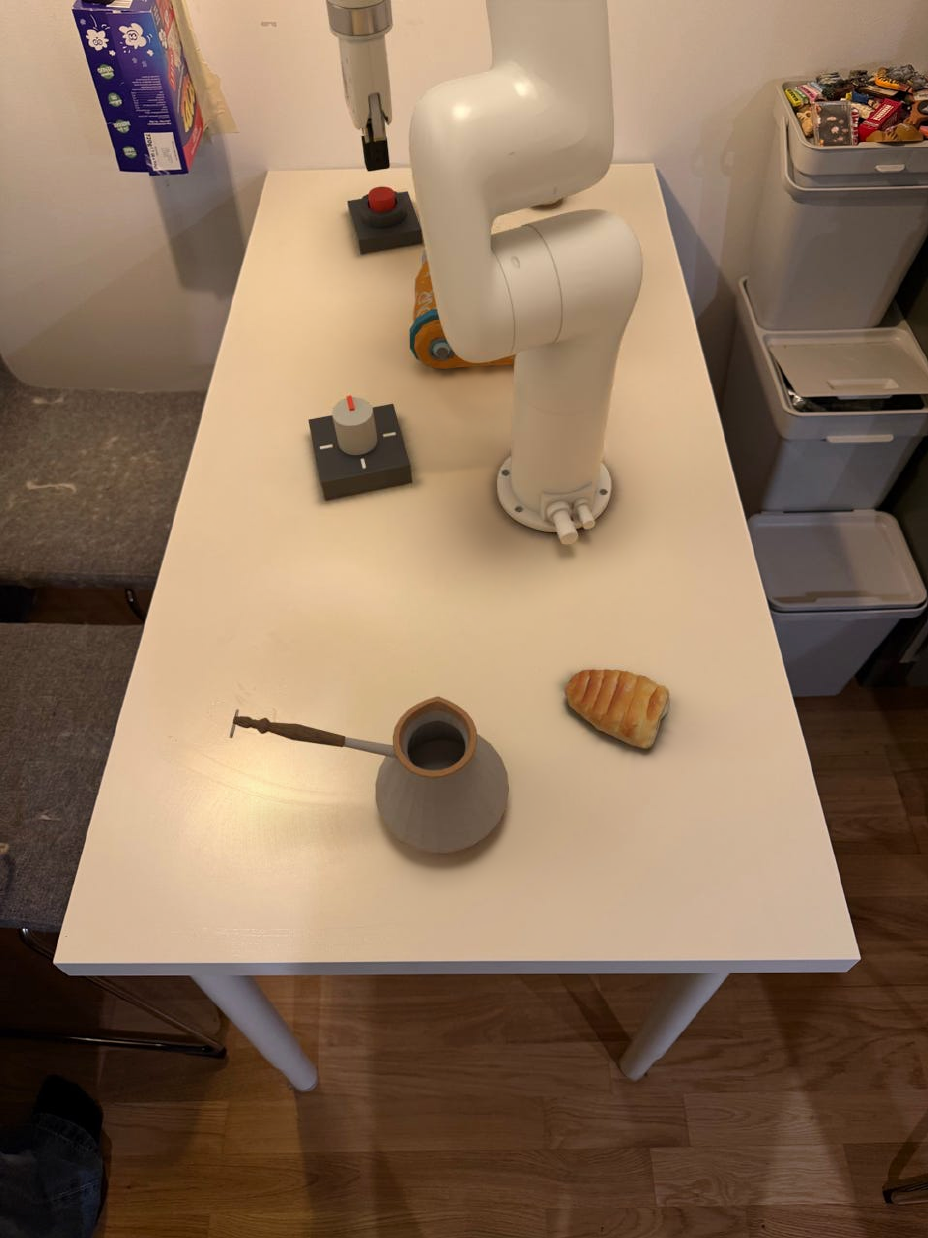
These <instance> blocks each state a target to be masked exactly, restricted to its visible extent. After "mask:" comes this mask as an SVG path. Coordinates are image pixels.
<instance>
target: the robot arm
mask: <svg viewBox="0 0 928 1238" xmlns="http://www.w3.org/2000/svg"><path fill="white" fill-rule="evenodd" d="M325 5H326V11H327V18H328V26H329V31H330V33H331V34H332V35H333V36H335V37H336V38H337V39H338V49H339V58H340V66H341V67H340V68H341V73H342V75H341V76H342V83H343V93H344V99H345V103H346V107H347V109H348V112H349V116H350V119H351V122H352V124H353V126H354V128H355V129H356V130H358V131H361V134H362V135H361V136H360V137H361V145H362V154H363V159H364V160H363V161H364V166H365V169H366V171H367V172H369V173H370V172H377V171H382V170H388V169H390V167H391V163H390V153H389V144H388V143H389V142H388V137H387V132H386V129H387V128H386V124H387V126H390V125H391V123H392V122H393V108H392V107H393V106H392V105H393V104H392V94H391V93H392V92H391V83H390V71H389V63H388V53H387V44H386V43H387V42H386V35H387V34H388V33H389V32H391V30H392V29H393V26H394V21H393V9H392V0H325ZM485 5H486V12H487V14H486V15H487V21H488V27H489V36H490V43H491V53H492V55H491V57H492V59H491V66H490V67H489V70H487V71H481V72H478V73H474V74H470V75H465V76H461V77H458V78H454V79H450V80H447V81H443V82H441V83H439V84H437V85H435V86H433V87H431V88H429V89H428V90H427V91H425V92H424V93H423V94H422V95H421V97H420V98H419V99H418V101H416V102H417V103H416V104H415V105H414V108H413V110H412V113H411V117H410V121H409V131H408V156H409V165H410V173H411V178H412V179H411V180H412V184H413V190H414V195H415V200H416V207H417V212H418V217H419V223H420V226H421V229H422V239H423V245H424V250H426V254H427V260H428V265H429V270H430V276H431V281H432V287H433V292H434V297H435V302H436V306H437V311H438V315H439V319H440V323H441V326H442V329H443V332H444V335H445V337H446V340H447V342H448V344H449V345H450V347H451V349H452V350H453V351H454V353H455V354H456V355H457V356H458V357H460V358H461V359H463V360H465V361H468V362H472V363H484V362H489V361H494V360H497V359H501V358H504V357H508V356H511V355H514V354H516V358H515V364H513V382H512V383H513V384H512V385H513V386H512V387H513V388H512V421H511V422H512V423H511V424H512V427H511V455H509V457H507V459H505V461H504V462H503V463H502V465H501V466H500V468H499V471H498V473H497V479H496V493H497V497H498V500H499V503H500V505H501V507H502V508H503V509H504V511H505V512H506V513H507V514H508V515H509V516H510V517H511V518H513V520H514V521H516V522H518V523H520V524H522V525H523V526H525V527H528V528H530V529H533V530H536V531H543V532H547V533H549V532H550V533H557V536H558V538H559V541H560V543H561V544H562V545H571V544H574V543H575V542H576V541H578V539H579V533H578V531H577V530H579V529H580V528H583V529H584V530H590V529H592V528H594V527H595V526H596V520H597V519H598V518H599V517H600V516H601V515H602V514H603V513H604V511H605V510H606V509H607V506H609V505H608V504H609V501H610V499H611V493H612V478H611V474H610V472H609V469H608V468H607V466H606V465H605V463H604V462H603V461H602V460H603V453H604V445H605V440H606V432H607V426H608V421H609V413H610V407H611V400H612V392H613V388H614V382H615V375H616V369H617V363H618V357H619V354H620V349H621V345H622V341H623V339H624V335H625V332H626V329H627V326H628V325H629V322H630V320H631V317H632V314H633V312H634V309H635V307H636V304H637V301H638V298H639V295H640V290H641V286H642V281H643V273H644V271H643V270H644V261H643V252H642V247H641V244H640V241H639V237H638V236H637V234H636V232H635V230H634V229H633V227H632V226H631V225H630V223H629V222H628V221H627V220H626V219H624V217H622V216H621V215H618V214H616V213H615V212H613V211H611V210H610V211H609V210H606V209H599V208H588V209H578V210H574V211H568V212H563V213H560V214H557V215H553V216H550V217H546V218H543V219H540V220H539V219H538V220H535V221H532V222H528V223H526V224H522V225H521V226H517V227H513V228H510V229H506V230H503V231H500V232H496V233H495V232H494V233H492V229H493V225H494V221H495V220H496V219H497V218H498V217H500V216H504V215H507V214H511V213H513V212H514V213H515V212H518V211H522V210H525V209H528V208H532V207H537V206H541V205H540V204H544V203H547V202H551V201H554V200H558V199H559V200H561V199H565V198H568V197H571V196H573V195H576V194H579V193H581V192H584V191H586V190H588V189H590V188H592V187H594V186H595V185H597V184H599V183H600V182H601V181H602V180H603V178H604V177H606V175H607V174H608V172H609V170H610V169H611V168H610V167H611V164H612V161H613V157H614V147H615V121H614V120H615V119H614V115H615V114H614V100H613V99H614V97H613V80H612V61H611V45H610V44H611V43H610V27H609V11H608V10H609V9H608V0H485ZM559 200H558V201H559Z"/></svg>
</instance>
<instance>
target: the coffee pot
mask: <svg viewBox="0 0 928 1238" xmlns="http://www.w3.org/2000/svg"><path fill="white" fill-rule="evenodd" d="M239 713H240V709H238V708H237V709H235V712H234V716H233V719H232V724H231V728H230V733H229V739H232V738H233V737H234V734H235V730H236V726H238V727H240V728H244V729H254V730H257V731H258V733H260V734H261V735H265V734H266V733H271V734H273V735H277V736H279V737H283V738H285V739H287V740H291V741H294V742H295V741H296V742H304V743H311V744H315V745H322V746H331V747H338V748H348V749H353V750H357V751H362V752H367V753H370V754H375V755H379V756H384V759H383V760H382V762H381V764H380V766H379V769H378V772H377V776H376V780H375V784H374V785H375V803H376V806H377V810H378V812H379V816H380V818H381V820H382V821H383V823H384V824H385V826H386V827H387V829H388V831H390V832H391V833H392V834H393V835H394V836H395V837H396V838H397V839H399V840H400V841H401V842H402V843H404V844H406V845H407V846H409V847H411V848H413V849H416V850H418V851H422V852H427V853H432V854H446V853H456V852H459V851H461V850H465V849H468V848H470V847H473V846H475V845H476V844H478V843H479V842H480V841H482V840H483V839H484V838H486V837H488V835H490V833H491V832H492V831H493V830H494V828H495V827H496V826H497V825H498V823H499V822H500V821H501V818H502V816H503V814H504V811H505V810H506V808H507V804H508V798H509V792H510V786H509V776H508V771H507V769H506V766H505V764H504V761H503V759H502V757H501V755H500V754H499V753H498V751H497V750H496V748H495V747H494V746H493V745H492V743H491V742H489V741H487V740H486V739H485V738H484V737H482V736H481V735H480V734H478V730H477V728H476V724H475V723H474V720H473V718H471V716H470V715H469V713H468V712H467V711H466V710H464V708H462V707H460V706H459V705H458V704H456V703H454V702H452V701H450V700H449V699H447V698H443V697H441V696H435V697H430V698H428V699H426V700H423V701H421V702H418V703H416V704H415V705H413V706H412V707H410V708H409V709H407V710H406V711H405V712H404V713H403V714H402V715H401V716H400V718H399V719H398V721H397V723H396V724H395V726H394V730H393V734H392V744H387V743H381V742H376V741H370V740H364V739H358V738H352V737H347V736H346V735H342V734H338V733H335V732H334V733H333V732H330V731H327V730H322V729H319V728H315V727H311V726H307V725H303V724H300V723H293V722H292V723H290V722H289V723H288V722H274V721H270V720H269V718H267V717H263V718H260V719H253V718H252V717H250V716H244V715H240V716H239Z"/></svg>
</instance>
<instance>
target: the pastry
mask: <svg viewBox="0 0 928 1238" xmlns="http://www.w3.org/2000/svg"><path fill="white" fill-rule="evenodd" d="M564 695H565V697H566V700H567V703H568V705H569V707H570V708H571V709H573V710H574V711H575V712H576V713H577V714H578V715H580V716H581V717H582V718H583V719H584V720H585V721H587V722H588V723H590V724H591V725H592V726H593V727H594V728H595V729H596V731H600V732H603V733H604V734H607V735H608V736H611V737H613V738H615V739H617V740H620V741H621V742H624V743H626V744H628V745H630V746H632V747H638V748H642V749H649V748H651V747H652V746H653V744H654V742H655V741H656V737H657V736H658V731H659V728H660V724H661V720H662V719H663V718H664V717H665V716H666V714H667V713H668V709H669V707H670V703H671V699H670V696H671V695H670V690H669V689H668V688H667V687H666V686H665V685H660V684H658V683H657V682H656V681H654V680H652V679H650V677H647V676H645V675H641V674H636V673H633V672H630V671H628V670H619V669H607V668H606V669H605V668H604V669H582V670H581V671H578V672H577V673H575V674H574V675H573V676H572V677H571V678H570V680H568V682H567V684H566V686H565V688H564Z"/></svg>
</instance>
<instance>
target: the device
mask: <svg viewBox="0 0 928 1238" xmlns="http://www.w3.org/2000/svg"><path fill="white" fill-rule="evenodd" d="M408 331H409V332H408V333H409V349H410V351H411V353H412V354H413V356H414V358H415V359H416V360H417V361H419V362H420V363H423V364H424V365H426V366H427V367H430V368H432V369H454V368H466V367H484V366H485V367H486V366H500V365H501V366H502V365H514V364H515V358H516V354H514V355H511V356H508V357H504V358H501V359H497V360H494V361H489V362H484V363H472V362H468V361H465V360H463V359H461V358H460V357H458V356H457V355H456V354H455V353H454V351H453V350H452V349H451V347H450V345H449V344H448V342H447V340H446V337H445V335H444V332H443V329H442V326H441V323H440V319H439V315H438V311H437V306H436V302H435V297H434V292H433V287H432V281H431V276H430V270H429V265H428V260H427V254H426V249H424V251H423V252H422V256H421V267H420V269H419V271H418V273H417V275H416V277H415V279H414V305H413V311H412V325H411V326H410V327H409V330H408Z"/></svg>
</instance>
